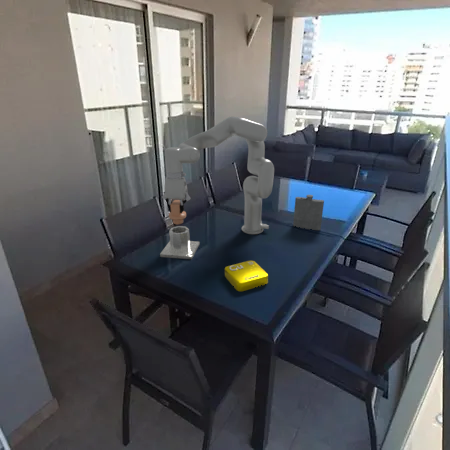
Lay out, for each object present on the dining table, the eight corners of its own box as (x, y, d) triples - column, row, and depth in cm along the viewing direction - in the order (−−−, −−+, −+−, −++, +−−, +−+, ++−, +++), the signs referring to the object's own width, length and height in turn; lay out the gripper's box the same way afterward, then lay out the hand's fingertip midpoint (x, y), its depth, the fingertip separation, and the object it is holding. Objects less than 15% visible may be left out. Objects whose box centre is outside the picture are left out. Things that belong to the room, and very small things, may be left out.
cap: (188, 219, 161) (187, 199, 156) (183, 226, 153) (182, 206, 148) (172, 217, 162) (170, 198, 157) (167, 225, 154) (165, 205, 150)
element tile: (238, 293, 131) (238, 283, 129) (223, 275, 143) (223, 266, 141) (269, 284, 137) (270, 274, 135) (252, 267, 149) (252, 258, 147)
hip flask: (321, 228, 186) (325, 196, 178) (319, 231, 183) (323, 198, 174) (293, 224, 192) (296, 192, 184) (292, 226, 189) (294, 194, 181)
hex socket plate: (199, 244, 170) (198, 224, 165) (191, 259, 155) (190, 238, 151) (170, 242, 172) (169, 222, 168) (160, 256, 158) (158, 236, 153)
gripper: (194, 173, 149) (195, 210, 157) (160, 172, 152) (163, 208, 160) (190, 178, 143) (191, 215, 150) (154, 176, 145) (157, 213, 153)
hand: (177, 211), depth 155 cm, fingers closed on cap, 4 cm apart
